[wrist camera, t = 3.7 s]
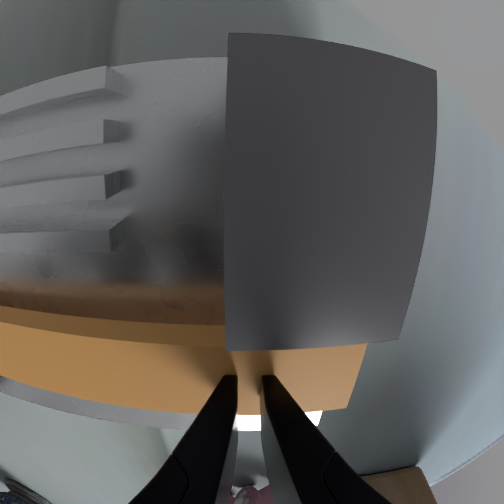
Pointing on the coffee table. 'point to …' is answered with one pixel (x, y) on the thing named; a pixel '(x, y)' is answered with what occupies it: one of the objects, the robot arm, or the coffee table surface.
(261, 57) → the block
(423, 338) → the coffee table surface
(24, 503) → the decorative vase
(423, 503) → the block
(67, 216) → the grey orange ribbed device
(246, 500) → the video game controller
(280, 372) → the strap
